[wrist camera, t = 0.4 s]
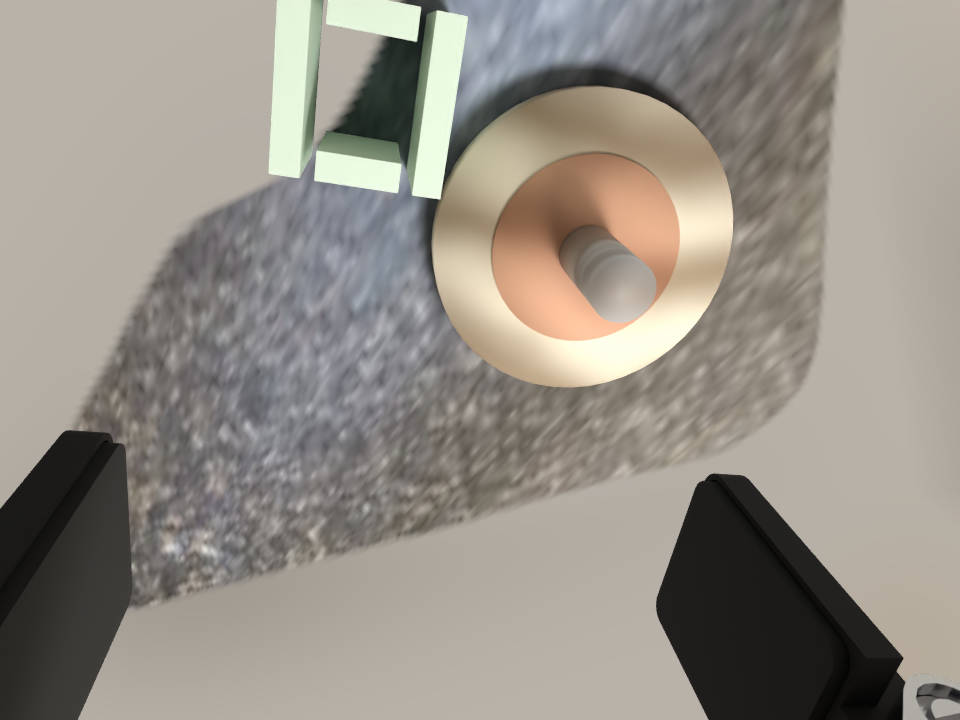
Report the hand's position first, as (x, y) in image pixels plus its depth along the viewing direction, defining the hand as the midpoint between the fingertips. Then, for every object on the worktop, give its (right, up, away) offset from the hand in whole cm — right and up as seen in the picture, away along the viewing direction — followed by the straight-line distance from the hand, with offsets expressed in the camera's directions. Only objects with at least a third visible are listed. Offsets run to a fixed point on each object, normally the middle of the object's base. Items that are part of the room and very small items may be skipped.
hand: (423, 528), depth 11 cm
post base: (+6, +9, +25) cm, 28 cm away
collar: (-4, +16, +21) cm, 26 cm away
